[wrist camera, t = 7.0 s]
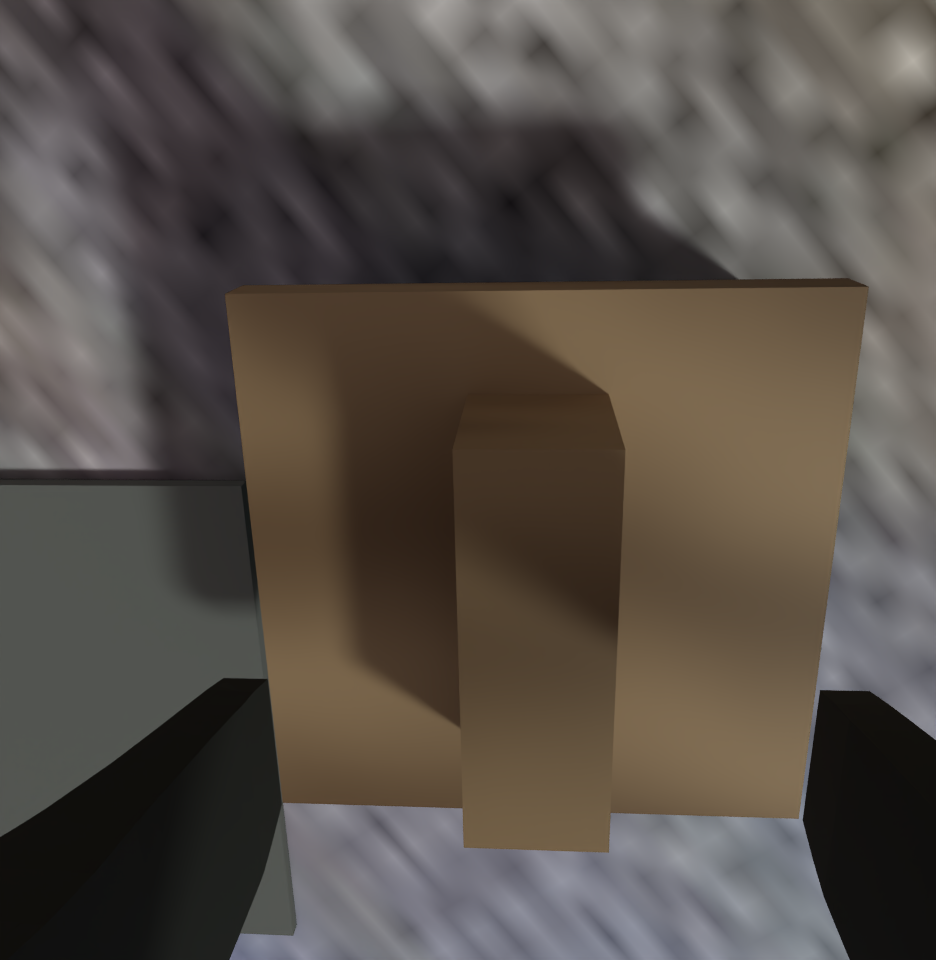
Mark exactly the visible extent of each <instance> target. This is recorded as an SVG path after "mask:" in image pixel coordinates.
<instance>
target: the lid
mask: <svg viewBox="0 0 936 960" xmlns="http://www.w3.org/2000/svg"><path fill="white" fill-rule="evenodd" d="M868 288H869V287H868V286H866V285H863V284H861V283H858V282H856V281H853V280H851V279H849V278H833V279H748V280H663V281H578V282H493V283H408V284H323V285H243V286H241V287H239V288H236V289H234V290H232V291H230V292H228V293H226V294H225V300H226V309H227V318H228V327H229V335H230V344H231V353H232V362H233V371H234V379H235V388H236V397H237V406H238V414H239V423H240V432H241V441H242V450H243V458H244V467H245V476H246V485H247V493H248V502H249V511H250V520H251V529H252V537H253V546H254V555H255V564H256V572H257V581H258V590H259V599H260V608H261V616H262V625H263V634H264V643H265V651H266V660H267V669H268V678H269V687H270V695H271V704H272V713H273V722H274V730H275V739H276V748H277V757H278V766H279V774H280V783H281V792H282V801H283V803H311V804H343V805H375V806H408V807H440V808H463V836H464V848H492V849H521V850H550V851H579V852H609V835H610V813H633V814H665V815H697V816H729V817H762V818H794V819H799V811H800V804H801V796H802V788H803V781H804V773H805V766H806V758H807V751H808V743H809V735H810V728H811V720H812V713H813V705H814V698H815V690H816V682H817V675H818V667H819V660H820V652H821V644H822V637H823V629H824V622H825V614H826V607H827V599H828V591H829V584H830V576H831V569H832V561H833V554H834V546H835V538H836V531H837V523H838V516H839V508H840V500H841V493H842V485H843V478H844V470H845V463H846V455H847V447H848V440H849V432H850V425H851V417H852V410H853V402H854V394H855V387H856V379H857V372H858V364H859V356H860V349H861V341H862V334H863V326H864V319H865V311H866V303H867V296H868Z"/></svg>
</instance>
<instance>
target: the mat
mask: <svg viewBox="0 0 936 960" xmlns="http://www.w3.org/2000/svg"><path fill="white" fill-rule="evenodd" d="M223 678H249V679H268V685H269V678H268V669H267V660H266V651H265V643H264V634H263V625H262V616H261V608H260V599H259V590H258V581H257V572H256V564H255V555H254V546H253V537H252V529H251V520H250V511H249V502H248V493H247V485H246V481H242V480H26V479H0V837H1V836H2V835H4V834H6V833H8V832H9V831H11V830H12V829H14V828H16V827H17V826H19V825H21V824H22V823H24V822H25V821H27V820H29V819H30V818H32V817H33V816H35V815H36V814H38V813H40V812H41V811H43V810H44V809H46V808H47V807H49V806H50V805H52V804H53V803H54V802H56V801H57V800H59V799H60V798H62V797H63V796H65V795H66V794H67V793H69V792H70V791H72V790H73V789H75V788H76V787H77V786H79V785H80V784H82V783H83V782H85V781H86V780H88V779H89V778H90V777H92V776H93V775H95V774H96V773H98V772H99V771H100V770H102V769H103V768H105V767H106V766H108V765H109V764H111V763H112V762H113V761H115V760H116V759H117V758H119V757H120V756H121V755H123V754H124V753H125V752H127V751H128V750H129V749H130V748H132V747H133V746H134V745H136V744H137V743H138V742H140V741H141V740H142V739H144V738H145V737H146V736H148V735H149V734H150V733H151V732H153V731H154V730H155V729H157V728H158V727H159V726H161V725H162V724H163V723H164V722H166V721H167V720H168V719H170V718H171V717H172V716H173V715H175V714H176V713H177V712H179V711H180V710H181V709H182V708H184V707H185V706H186V705H188V704H189V703H190V702H191V701H193V700H194V699H195V698H197V697H198V696H199V695H200V694H202V693H203V692H204V691H206V690H207V689H208V688H210V687H211V686H213V685H214V684H215V683H217V682H218V681H220V680H221V679H223ZM269 694H270V687H269ZM270 703H271V695H270ZM271 712H272V704H271ZM272 720H273V713H272ZM273 729H274V722H273ZM274 738H275V730H274ZM275 747H276V739H275ZM276 756H277V748H276ZM277 765H278V757H277ZM278 773H279V766H278ZM279 782H280V774H279ZM280 791H281V783H280ZM281 800H282V792H281ZM296 925H297V923H296V914H295V905H294V897H293V888H292V879H291V870H290V861H289V853H288V844H287V835H286V826H285V817H284V809H283V801H282V806H281V810H280V814H279V818H278V822H277V826H276V830H275V834H274V838H273V842H272V846H271V849H270V853H269V856H268V860H267V863H266V867H265V871H264V874H263V877H262V880H261V882H260V885H259V887H258V890H257V892H256V895H255V897H254V900H253V902H252V905H251V907H250V910H249V912H248V915H247V917H246V920H245V922H244V925H243V927H242V930H241V932H240V933H244V934H268V935H291V936H293V935H294V931H295V928H296Z"/></svg>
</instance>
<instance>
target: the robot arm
mask: <svg viewBox="0 0 936 960" xmlns="http://www.w3.org/2000/svg"><path fill="white" fill-rule="evenodd" d="M281 806H282V800H281V791H280V782H279V773H278V765H277V756H276V747H275V738H274V729H273V720H272V712H271V703H270V694H269V685H268V679H249V678H223V679H221V680H220V681H218V682H217V683H215V684H214V685H213V686H211V687H210V688H208V689H207V690H206V691H204V692H203V693H202V694H200V695H199V696H198V697H197V698H195V699H194V700H193V701H191V702H190V703H189V704H188V705H186V706H185V707H184V708H182V709H181V710H180V711H179V712H177V713H176V714H175V715H173V716H172V717H171V718H170V719H168V720H167V721H166V722H164V723H163V724H162V725H161V726H159V727H158V728H157V729H155V730H154V731H153V732H151V733H150V734H149V735H148V736H146V737H145V738H144V739H142V740H141V741H140V742H138V743H137V744H136V745H134V746H133V747H132V748H130V749H129V750H128V751H127V752H125V753H124V754H123V755H121V756H120V757H119V758H117V759H116V760H115V761H113V762H112V763H111V764H109V765H108V766H106V767H105V768H103V769H102V770H100V771H99V772H98V773H96V774H95V775H93V776H92V777H90V778H89V779H88V780H86V781H85V782H83V783H82V784H80V785H79V786H77V787H76V788H75V789H73V790H72V791H70V792H69V793H67V794H66V795H65V796H63V797H62V798H60V799H59V800H57V801H56V802H54V803H53V804H52V805H50V806H49V807H47V808H46V809H44V810H43V811H41V812H40V813H38V814H36V815H35V816H33V817H32V818H30V819H29V820H27V821H25V822H24V823H22V824H21V825H19V826H17V827H16V828H14V829H12V830H11V831H9V832H8V833H6V834H4V835H2V836H1V837H0V960H229V959H230V957H231V954H232V952H233V949H234V947H235V944H236V942H237V940H238V937H239V935H240V932H241V930H242V927H243V925H244V922H245V920H246V917H247V915H248V912H249V910H250V907H251V905H252V902H253V900H254V897H255V895H256V892H257V890H258V887H259V885H260V882H261V880H262V877H263V874H264V871H265V867H266V863H267V860H268V856H269V853H270V849H271V846H272V842H273V838H274V834H275V830H276V826H277V822H278V818H279V814H280V810H281ZM803 823H804V827H805V830H806V834H807V838H808V842H809V846H810V850H811V853H812V857H813V861H814V865H815V868H816V871H817V875H818V878H819V882H820V885H821V889H822V892H823V896H824V898H825V901H826V903H827V906H828V908H829V911H830V913H831V915H832V918H833V920H834V923H835V925H836V928H837V930H838V932H839V935H840V937H841V940H842V942H843V945H844V947H845V949H846V952H847V954H848V957H849V959H850V960H936V740H935V739H934V738H932V737H931V736H930V735H928V734H927V733H926V732H924V731H923V730H922V729H920V728H919V727H918V726H917V725H915V724H914V723H913V722H911V721H910V720H909V719H907V718H906V717H905V716H903V715H902V714H901V713H899V712H898V711H897V710H895V709H894V708H893V707H891V706H890V705H889V704H887V703H886V702H884V701H883V700H882V699H880V698H879V697H877V696H876V695H874V694H873V693H871V692H870V691H832V690H820V695H819V703H818V710H817V718H816V725H815V733H814V740H813V748H812V755H811V763H810V770H809V778H808V785H807V793H806V800H805V807H804V815H803Z"/></svg>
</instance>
